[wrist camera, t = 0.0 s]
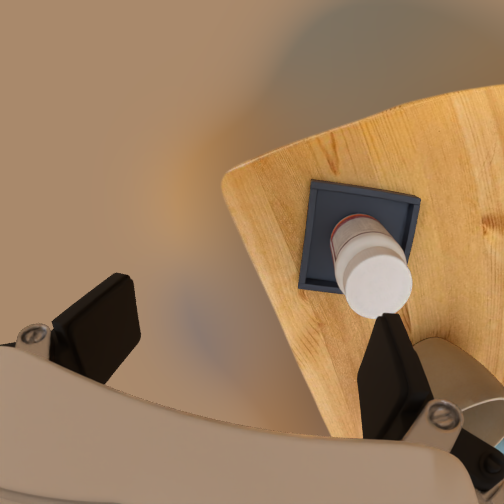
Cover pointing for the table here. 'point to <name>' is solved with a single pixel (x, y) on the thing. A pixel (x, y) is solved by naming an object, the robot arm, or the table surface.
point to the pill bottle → (369, 266)
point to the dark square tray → (340, 206)
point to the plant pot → (464, 387)
